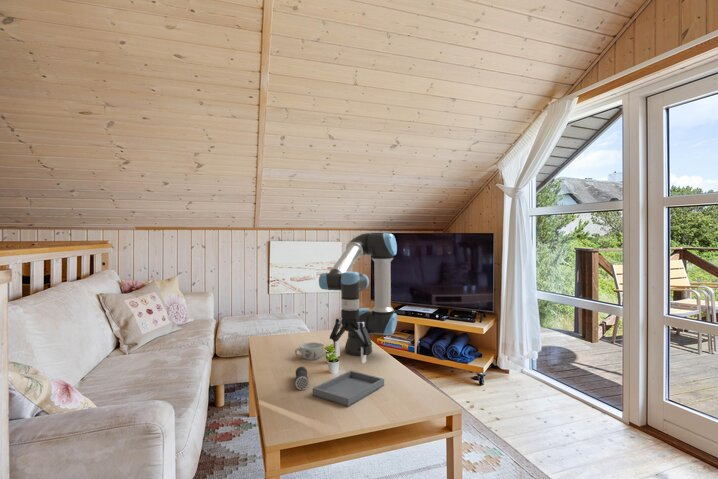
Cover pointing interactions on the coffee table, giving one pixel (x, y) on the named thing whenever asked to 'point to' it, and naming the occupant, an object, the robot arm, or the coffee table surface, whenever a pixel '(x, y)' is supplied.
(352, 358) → the coffee table surface
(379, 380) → the box
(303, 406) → the coffee table surface
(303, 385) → the flashlight
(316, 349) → the teacup
